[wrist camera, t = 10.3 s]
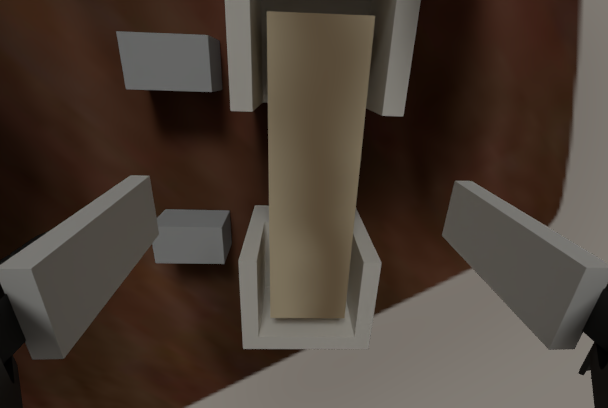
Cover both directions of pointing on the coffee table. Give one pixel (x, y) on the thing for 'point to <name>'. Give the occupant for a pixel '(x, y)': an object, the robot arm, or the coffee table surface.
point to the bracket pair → (364, 259)
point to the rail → (314, 156)
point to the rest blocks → (179, 77)
